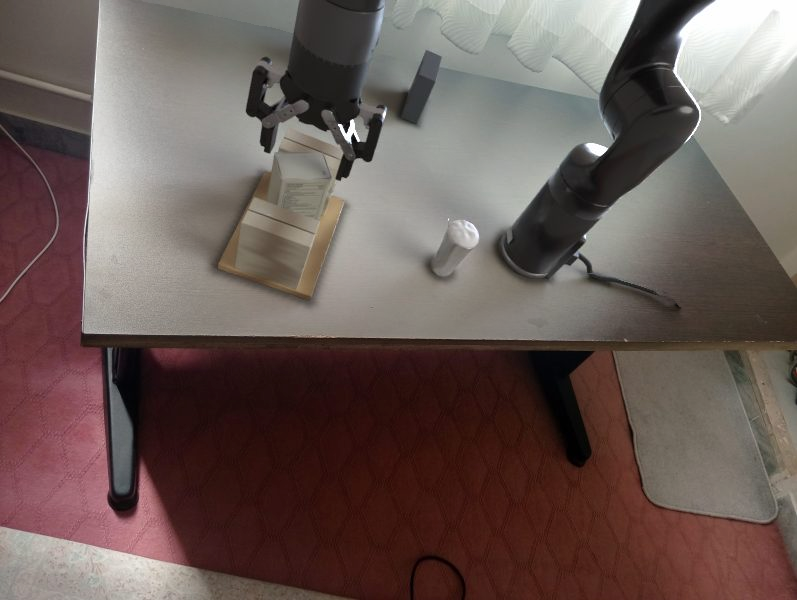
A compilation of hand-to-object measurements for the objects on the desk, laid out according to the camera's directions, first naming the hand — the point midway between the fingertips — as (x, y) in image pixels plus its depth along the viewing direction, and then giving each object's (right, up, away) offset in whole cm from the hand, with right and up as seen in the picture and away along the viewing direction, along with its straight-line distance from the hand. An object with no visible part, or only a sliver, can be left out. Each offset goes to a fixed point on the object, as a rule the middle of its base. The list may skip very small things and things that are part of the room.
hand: (305, 162), depth 63 cm
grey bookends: (+6, +21, +34) cm, 40 cm away
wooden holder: (-4, -7, +11) cm, 14 cm away
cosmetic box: (-4, -7, +10) cm, 13 cm away
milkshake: (+17, -11, +17) cm, 26 cm away
